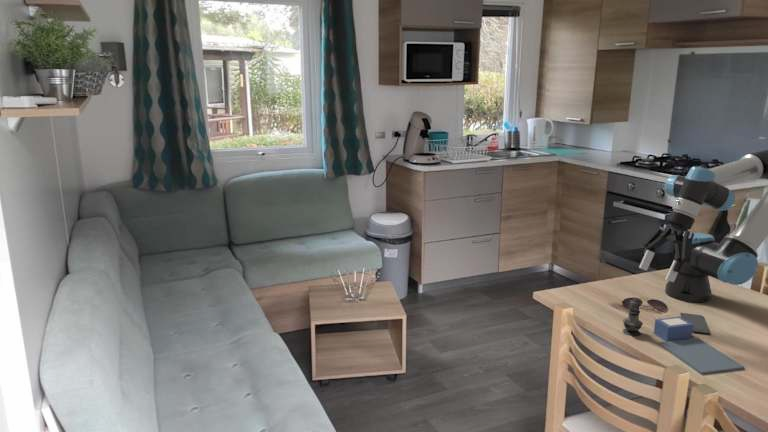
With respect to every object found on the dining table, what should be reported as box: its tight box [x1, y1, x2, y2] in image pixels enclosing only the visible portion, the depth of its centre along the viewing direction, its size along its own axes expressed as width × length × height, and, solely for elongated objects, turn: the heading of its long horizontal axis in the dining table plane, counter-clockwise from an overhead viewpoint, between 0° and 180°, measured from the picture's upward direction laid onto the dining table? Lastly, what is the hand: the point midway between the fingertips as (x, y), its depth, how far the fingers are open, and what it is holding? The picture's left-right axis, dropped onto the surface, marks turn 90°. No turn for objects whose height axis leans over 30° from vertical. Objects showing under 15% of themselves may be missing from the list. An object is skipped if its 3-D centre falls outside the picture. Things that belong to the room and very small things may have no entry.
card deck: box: [653, 316, 694, 342], centre depth 183 cm, size 9×6×5 cm, turn 103°
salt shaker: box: [622, 297, 644, 337], centre depth 185 cm, size 6×6×12 cm
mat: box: [658, 337, 745, 375], centre depth 171 cm, size 14×18×1 cm
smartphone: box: [680, 312, 711, 336], centre depth 192 cm, size 7×1×15 cm
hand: (655, 274), depth 189 cm, fingers open, 13 cm apart
